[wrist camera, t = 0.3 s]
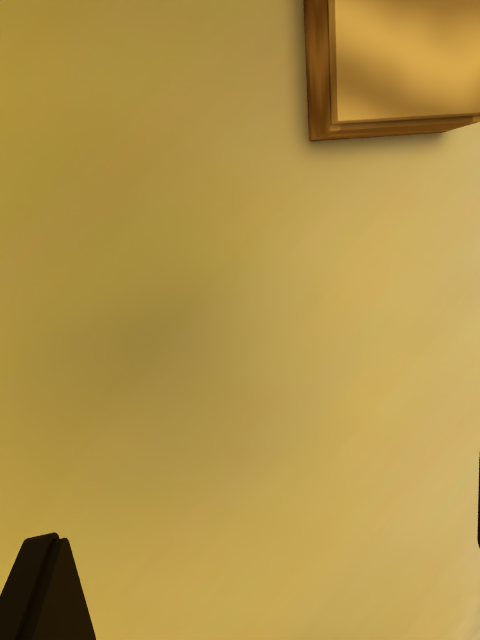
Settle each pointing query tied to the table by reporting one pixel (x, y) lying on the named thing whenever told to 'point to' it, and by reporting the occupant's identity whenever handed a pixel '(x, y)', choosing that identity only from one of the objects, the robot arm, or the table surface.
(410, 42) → the lid
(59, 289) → the table surface
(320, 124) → the brown shallow rectangular box
